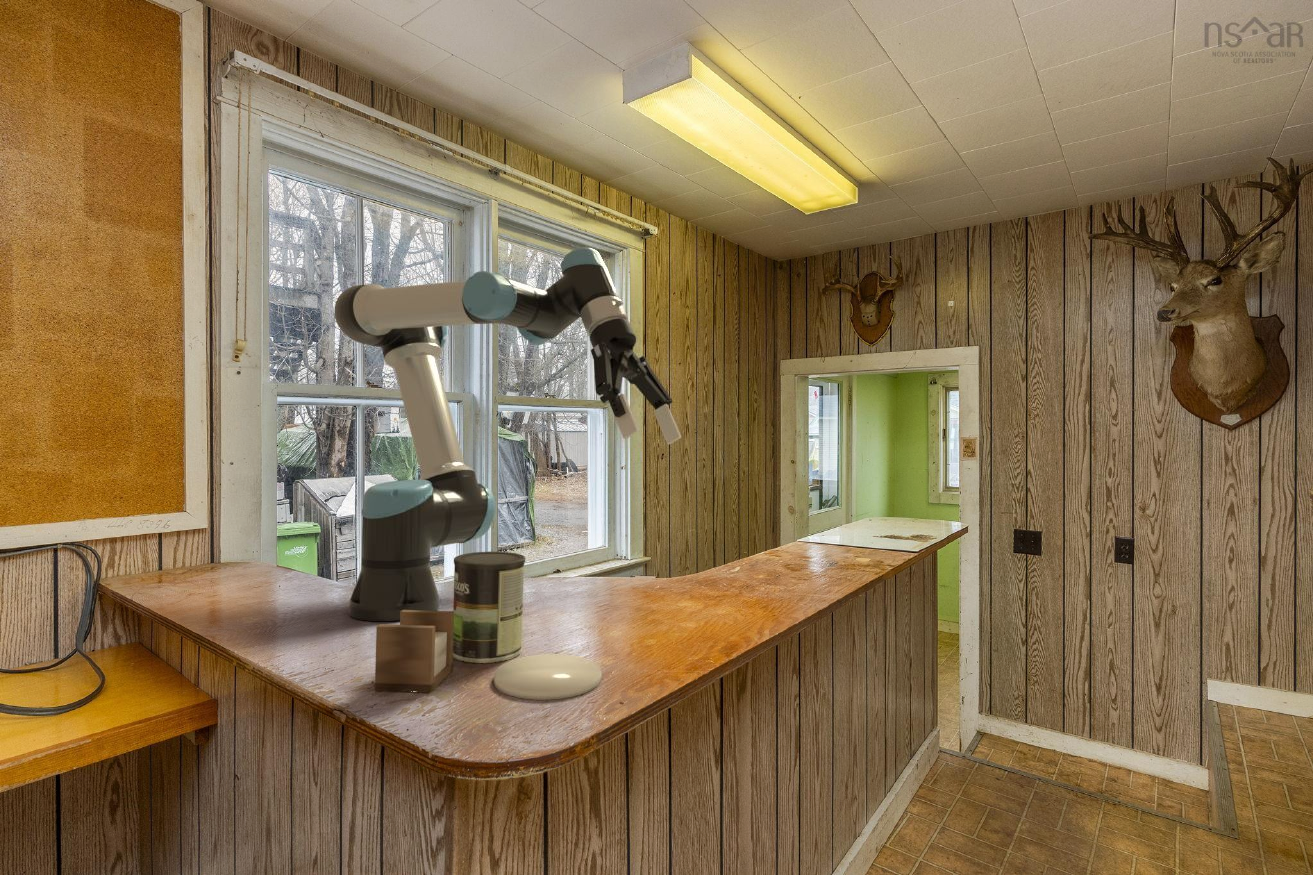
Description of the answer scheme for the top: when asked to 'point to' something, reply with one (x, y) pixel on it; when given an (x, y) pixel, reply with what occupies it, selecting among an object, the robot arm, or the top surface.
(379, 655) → the napkin caddy
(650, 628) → the top surface
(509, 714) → the top surface
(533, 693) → the disc
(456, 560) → the coffee can
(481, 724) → the top surface
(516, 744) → the top surface
